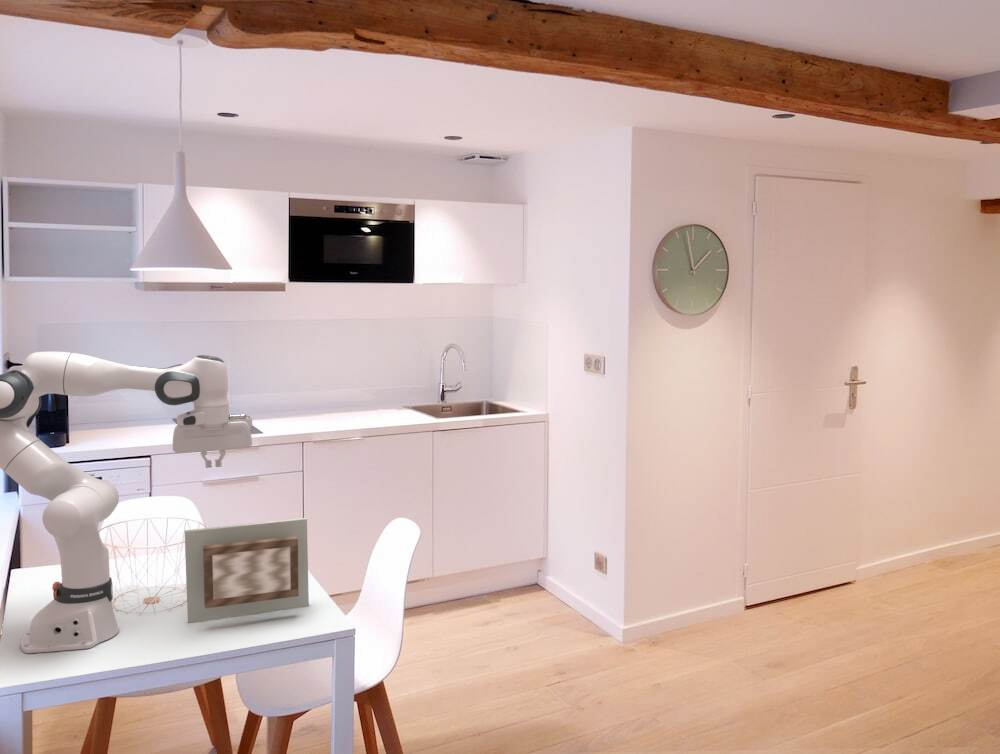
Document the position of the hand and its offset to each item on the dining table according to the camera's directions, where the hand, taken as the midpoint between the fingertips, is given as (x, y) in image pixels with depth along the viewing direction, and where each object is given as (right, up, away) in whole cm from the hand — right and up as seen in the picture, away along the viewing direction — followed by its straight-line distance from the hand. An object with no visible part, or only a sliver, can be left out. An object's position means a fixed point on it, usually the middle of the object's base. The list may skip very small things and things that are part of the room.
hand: (213, 466), depth 233 cm
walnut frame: (+11, -35, -2) cm, 37 cm away
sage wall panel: (+9, -41, +3) cm, 42 cm away
